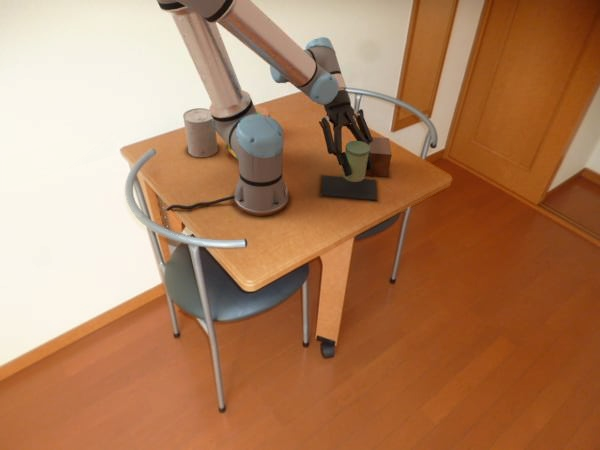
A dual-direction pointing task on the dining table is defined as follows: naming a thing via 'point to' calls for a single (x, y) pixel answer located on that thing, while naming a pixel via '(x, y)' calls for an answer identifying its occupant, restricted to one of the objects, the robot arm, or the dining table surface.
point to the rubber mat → (348, 188)
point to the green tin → (357, 160)
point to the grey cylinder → (200, 132)
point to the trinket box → (262, 110)
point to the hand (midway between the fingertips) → (359, 172)
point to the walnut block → (380, 156)
